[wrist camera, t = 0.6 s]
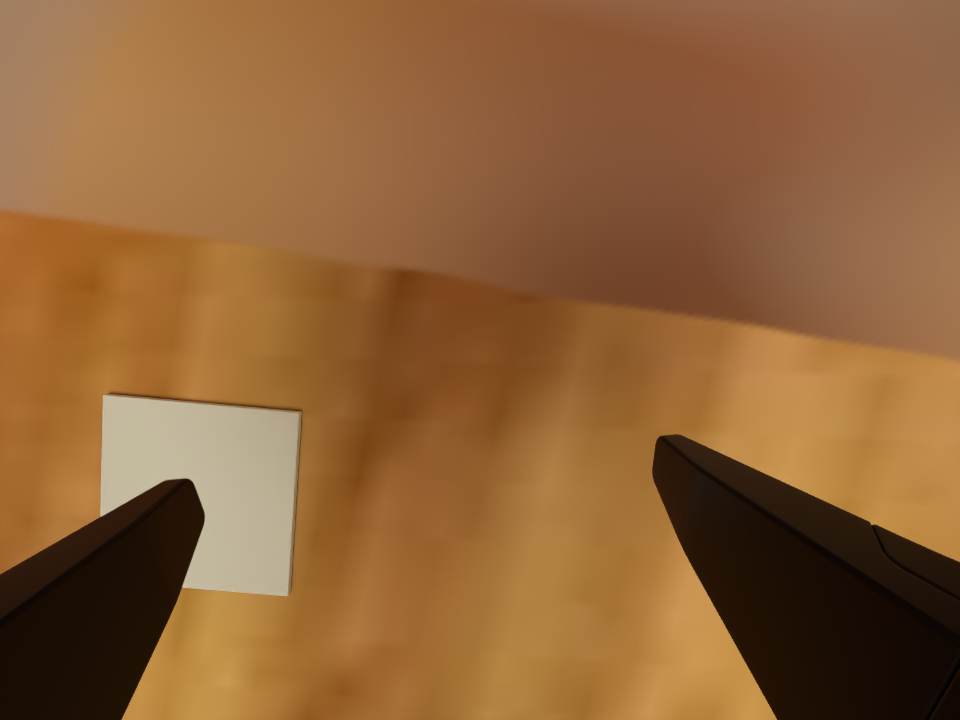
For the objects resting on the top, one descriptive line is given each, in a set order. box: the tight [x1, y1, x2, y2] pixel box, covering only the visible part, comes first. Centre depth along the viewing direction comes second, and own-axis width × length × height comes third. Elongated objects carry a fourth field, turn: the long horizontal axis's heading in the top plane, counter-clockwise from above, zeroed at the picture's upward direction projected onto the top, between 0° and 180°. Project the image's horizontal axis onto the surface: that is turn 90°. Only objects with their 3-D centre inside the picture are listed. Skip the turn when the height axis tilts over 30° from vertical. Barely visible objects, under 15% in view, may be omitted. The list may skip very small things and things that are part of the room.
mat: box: [100, 394, 302, 596], centre depth 24 cm, size 10×10×1 cm
